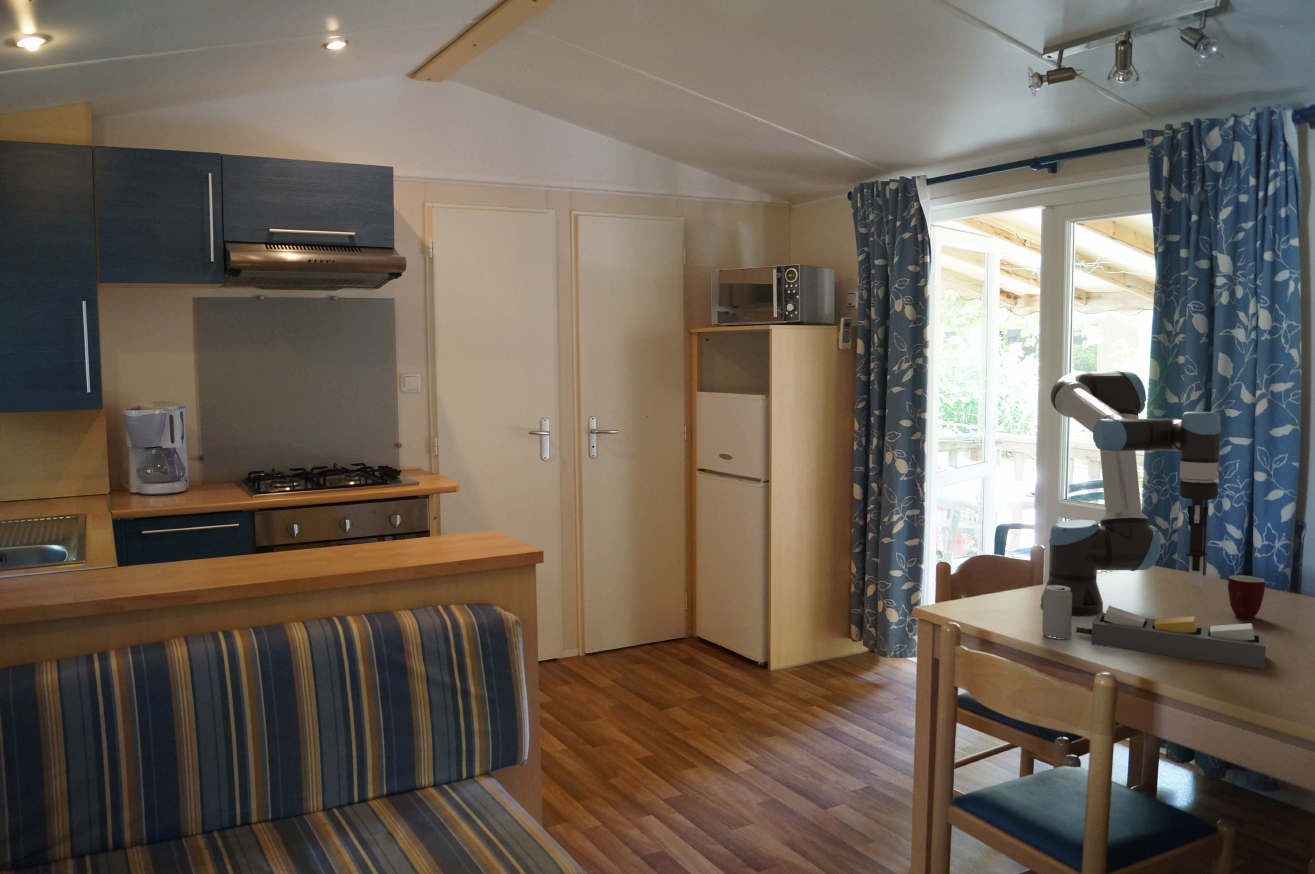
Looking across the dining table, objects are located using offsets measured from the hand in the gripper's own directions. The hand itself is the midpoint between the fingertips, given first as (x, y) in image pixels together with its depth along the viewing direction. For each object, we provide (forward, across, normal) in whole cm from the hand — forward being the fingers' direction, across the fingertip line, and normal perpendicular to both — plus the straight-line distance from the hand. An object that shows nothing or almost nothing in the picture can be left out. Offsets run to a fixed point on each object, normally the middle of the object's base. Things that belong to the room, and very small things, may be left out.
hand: (1195, 584), depth 212 cm
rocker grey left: (+11, 0, +14) cm, 18 cm away
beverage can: (+16, -3, +28) cm, 33 cm away
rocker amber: (+11, 0, +3) cm, 12 cm away
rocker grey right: (+11, 0, -8) cm, 13 cm away
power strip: (+15, 0, +5) cm, 16 cm away
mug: (+15, +39, -10) cm, 43 cm away
